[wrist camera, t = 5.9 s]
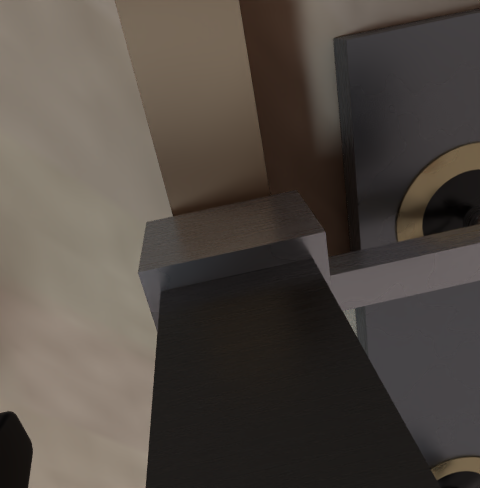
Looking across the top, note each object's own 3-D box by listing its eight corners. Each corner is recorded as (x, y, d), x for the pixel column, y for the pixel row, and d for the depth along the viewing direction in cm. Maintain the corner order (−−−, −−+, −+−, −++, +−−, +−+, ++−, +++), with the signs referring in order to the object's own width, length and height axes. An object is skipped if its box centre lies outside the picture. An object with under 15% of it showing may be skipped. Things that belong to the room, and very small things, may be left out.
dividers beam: (446, 551, 22) (525, 708, 17) (265, 594, 21) (291, 765, 16) (472, -88, 10) (738, -188, 5) (91, -12, 10) (6, -42, 5)
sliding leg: (487, 280, 13) (834, 572, 6) (186, 346, 13) (192, 726, 6) (497, 142, 11) (1004, 335, 4) (147, 217, 11) (91, 545, 4)
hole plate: (501, 526, 21) (517, 551, 20) (375, 556, 21) (385, 582, 20) (570, -11, 11) (608, -14, 10) (333, 38, 11) (348, 40, 10)
